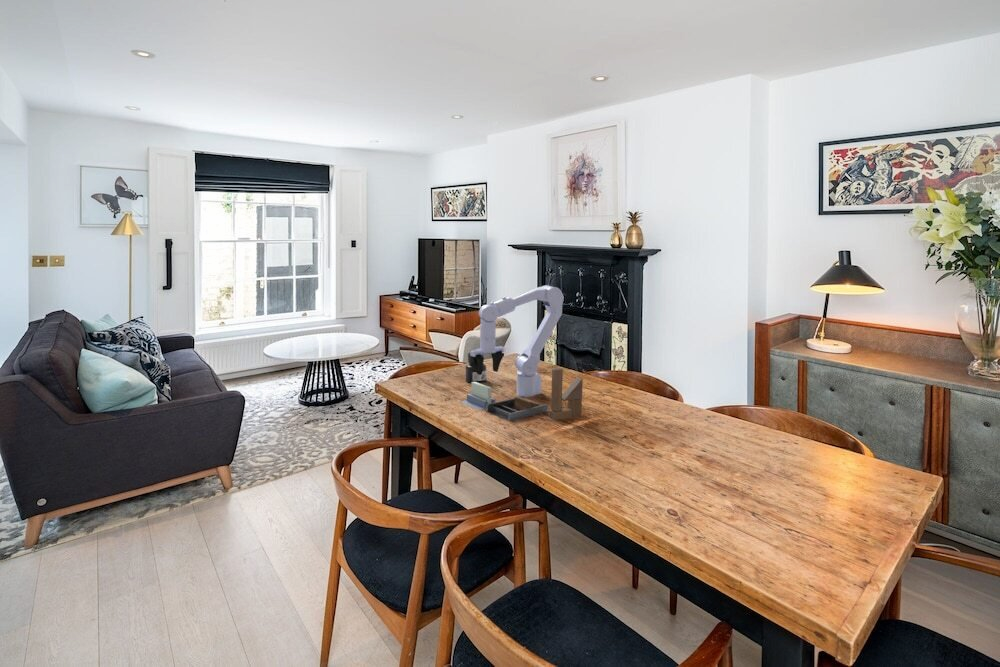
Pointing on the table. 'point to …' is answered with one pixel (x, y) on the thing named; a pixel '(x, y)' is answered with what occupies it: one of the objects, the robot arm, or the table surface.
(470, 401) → the sheet stand
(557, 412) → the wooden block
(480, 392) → the pale green slab
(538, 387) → the robot arm
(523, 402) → the offcut stack
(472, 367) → the ink bottle
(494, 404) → the slotted rack
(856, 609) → the table surface
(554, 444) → the table surface
